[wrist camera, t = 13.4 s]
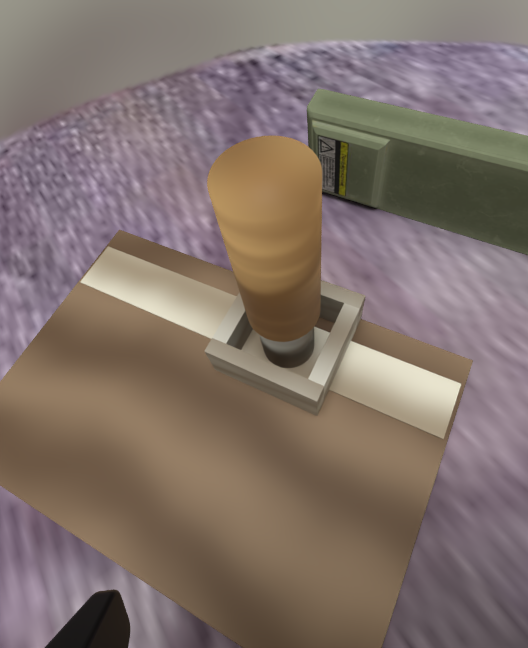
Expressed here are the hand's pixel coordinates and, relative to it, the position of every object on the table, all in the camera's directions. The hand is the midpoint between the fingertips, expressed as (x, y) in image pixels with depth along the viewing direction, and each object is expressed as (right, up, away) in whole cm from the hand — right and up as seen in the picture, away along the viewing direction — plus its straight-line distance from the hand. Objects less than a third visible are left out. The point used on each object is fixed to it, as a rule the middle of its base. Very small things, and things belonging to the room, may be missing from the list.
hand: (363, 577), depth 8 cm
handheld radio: (+13, +10, +20) cm, 26 cm away
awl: (0, +4, +15) cm, 16 cm away
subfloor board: (-5, 0, +16) cm, 16 cm away
